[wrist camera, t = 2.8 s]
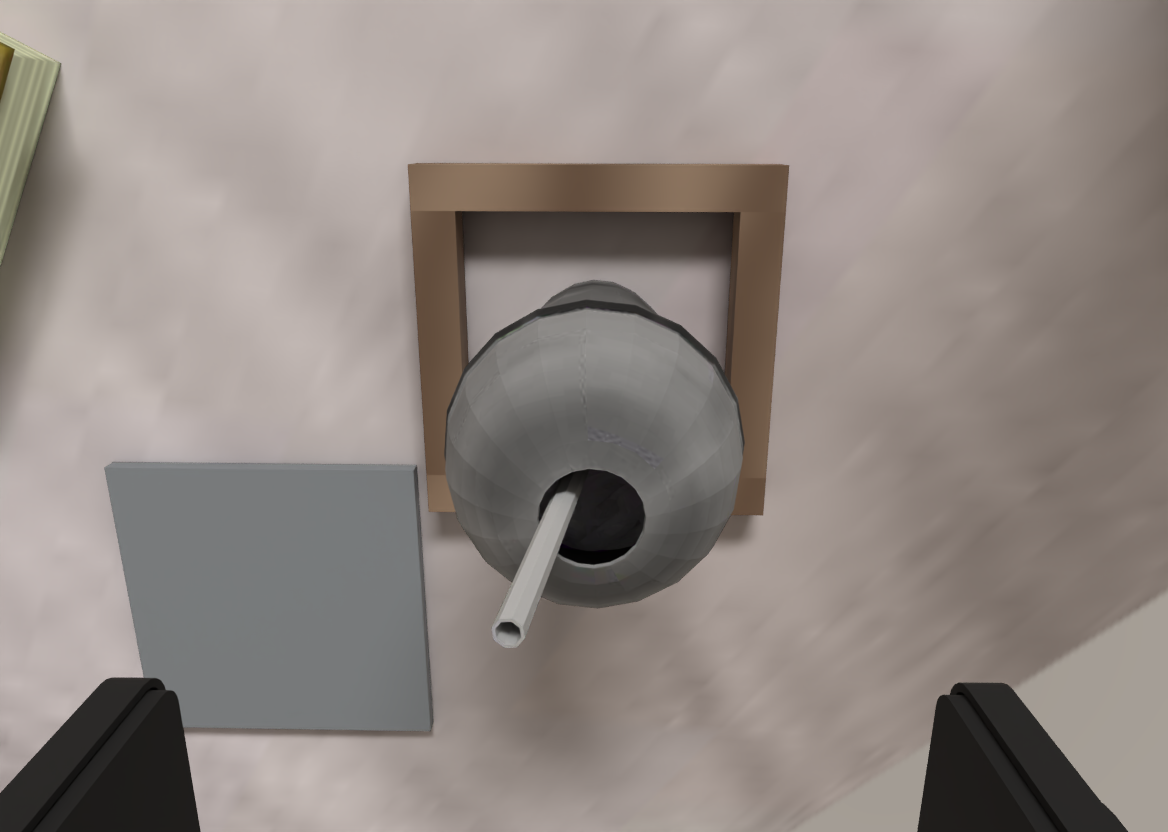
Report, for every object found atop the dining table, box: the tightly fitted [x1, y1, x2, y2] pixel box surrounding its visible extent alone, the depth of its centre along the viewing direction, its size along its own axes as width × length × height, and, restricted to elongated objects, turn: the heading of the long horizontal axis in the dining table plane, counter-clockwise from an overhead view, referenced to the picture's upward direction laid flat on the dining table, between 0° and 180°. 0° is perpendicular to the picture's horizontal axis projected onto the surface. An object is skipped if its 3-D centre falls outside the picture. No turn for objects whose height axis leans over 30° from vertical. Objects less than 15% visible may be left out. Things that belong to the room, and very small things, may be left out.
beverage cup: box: [444, 280, 745, 648], centre depth 22 cm, size 7×7×20 cm
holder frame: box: [408, 163, 789, 515], centre depth 31 cm, size 13×13×2 cm
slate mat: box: [104, 462, 433, 731], centre depth 35 cm, size 12×12×1 cm
